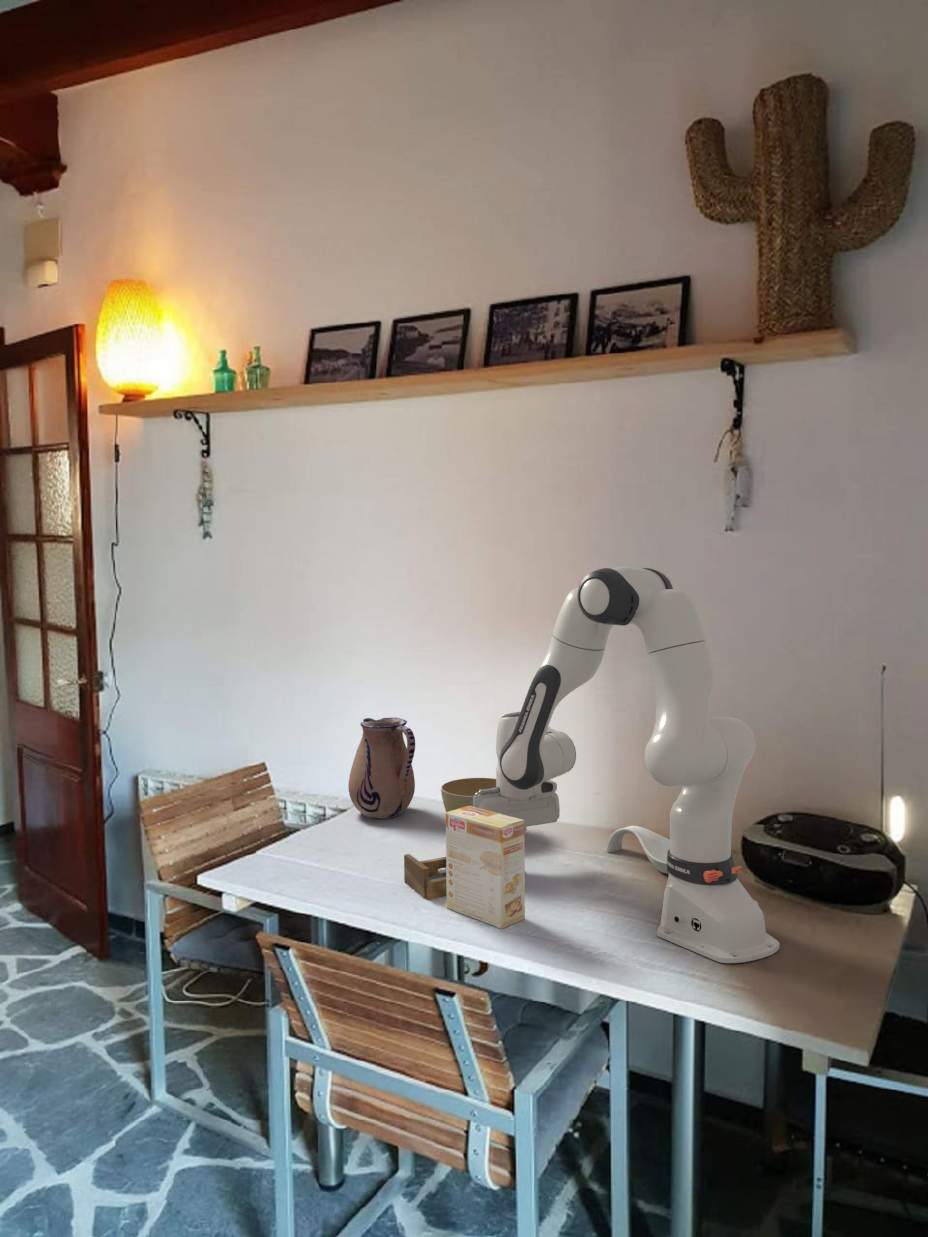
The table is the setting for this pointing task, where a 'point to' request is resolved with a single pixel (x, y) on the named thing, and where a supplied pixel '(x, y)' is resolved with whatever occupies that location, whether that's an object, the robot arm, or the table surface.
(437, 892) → the brown wooden frame
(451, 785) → the flower pot
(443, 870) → the pusher
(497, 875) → the coffeecake box
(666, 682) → the robot arm
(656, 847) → the spoon rest
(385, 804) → the ceramic pitcher
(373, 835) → the table surface
